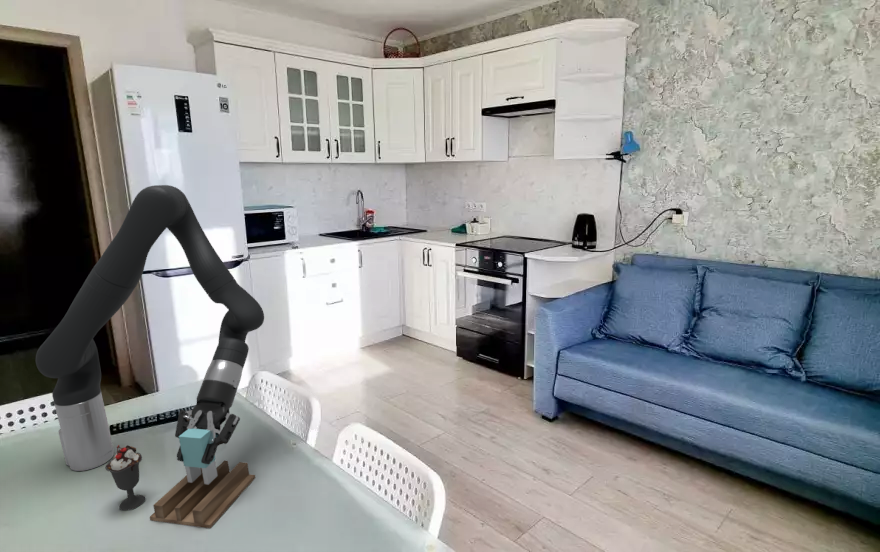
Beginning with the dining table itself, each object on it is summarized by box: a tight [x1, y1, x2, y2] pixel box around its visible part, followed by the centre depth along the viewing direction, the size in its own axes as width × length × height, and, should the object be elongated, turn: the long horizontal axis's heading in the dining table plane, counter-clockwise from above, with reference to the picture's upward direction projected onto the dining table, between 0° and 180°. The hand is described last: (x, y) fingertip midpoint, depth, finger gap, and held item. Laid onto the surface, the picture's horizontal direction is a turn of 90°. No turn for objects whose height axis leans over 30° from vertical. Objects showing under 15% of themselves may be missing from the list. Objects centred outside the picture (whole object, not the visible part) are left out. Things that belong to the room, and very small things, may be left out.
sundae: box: [104, 444, 147, 512], centre depth 104 cm, size 7×7×15 cm
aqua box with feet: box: [178, 429, 218, 485], centre depth 105 cm, size 5×3×11 cm, turn 78°
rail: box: [149, 460, 256, 529], centre depth 106 cm, size 14×16×4 cm
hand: (193, 461), depth 103 cm, fingers closed on aqua box with feet, 5 cm apart
